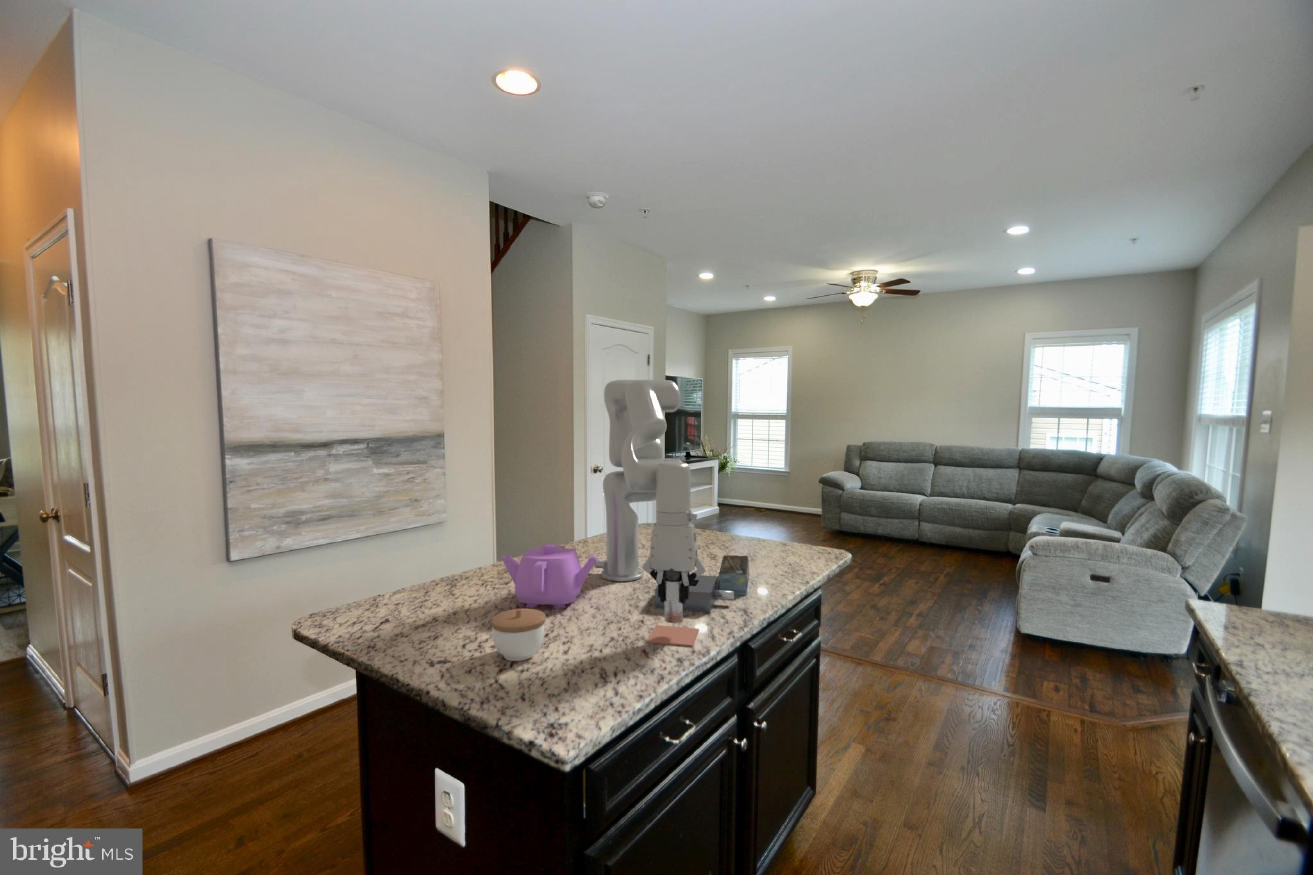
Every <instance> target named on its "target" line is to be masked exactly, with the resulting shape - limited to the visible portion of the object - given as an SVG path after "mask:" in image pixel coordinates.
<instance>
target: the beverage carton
mask: <svg viewBox="0 0 1313 875" xmlns="http://www.w3.org/2000/svg"><path fill="white" fill-rule="evenodd" d="M749 564H750V563H749V556H748V555H735V554H733V555H728V554H727V555H726V554H725V555H723V557H722V560H721V563H720V569H719V572H718V590H724V591H734V596H747V594H748V586H749V576H750V575H749V574H750V565H749Z"/></svg>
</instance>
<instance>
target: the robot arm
mask: <svg viewBox="0 0 1313 875" xmlns="http://www.w3.org/2000/svg"><path fill="white" fill-rule="evenodd" d="M603 398H604V399H603V400H604V405H605V408H606V411H607V414H608V419H609V440H608V442H609V444H608V457H609V458H608V459H609V462H610V464H611V465H612V466H614V467H616V468H622V469H623V470H617V471H616V470H615V471H611V472H609V473H607V474H606V475H605V476H604V478H603V481H602V489H603V495H604V502H605V504H604V505H605V516H606V517H605V519H606V526H605V527H606V559H604V560H601V559H600V560H599V559H597V560H596V562H595V564H594V565H593V567H594V568H595V569H602V571H601V577H602V578H603V579H605V580H608V581H612V582H631V581H636V580H638V579H641V578H642V577H643V576H644V571H645V572H646V573H647V574H649V575H650V577H652V579H653V580H654V581H655V583H656V584H657V586H658V597H660V602H664V601H665V596H664V571H667V570H670V569H671V568H672V569H673V570H674V571H678V572H681V573H682V579H683V585H682V586H681V603H682V604H685V602H686V600H687V599H689V584H690V583H691V582H692V581H693V580H694V579H695V578H696V577H698V576H700V575H704V573H705V572H706V568H705V566H704V565H703V563H702V562H701V560H700V558H699V557H698V556H699V555H698V542H697V532H696V527H695V524H694V523H692V522H693V521H698V514H696V513H693V512H692V509H691V467H690V465H689V464H688V463H687V462H683V461H682V460H680V459H679V458H671V457H669V458H664V451H663V450H664V448H663V444H662V441H661V440H660V438H662V437H663V436H664V434H665V433H666V431H667V427H668V425H667V421H666V418H665V415H664V413H674V412H676V411H677V410H678V409H679V408H680V405H681V392H680V389H679V386H678V385H677V384H676V382H674V381H673V380H670V379H669V380H668V379H615V380H612V381H609V382H607V383H606V385H605V387H604V389H603ZM654 501H655V502H656V503H655V512H656V514H655V519H656V520H655V522H654V523H653V526H652V530H651V538H650V548H649V549H650V550H649V556H648V558H647V560H646V561H645V562H644V564H643V565H642V568H640V567H639V517H638V514H637V512H635V510H634V509H633V508H632V507H631V505H630V504H632V503H644V502H654ZM695 568H696V570H695Z"/></svg>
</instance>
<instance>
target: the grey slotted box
mask: <svg viewBox="0 0 1313 875" xmlns="http://www.w3.org/2000/svg"><path fill="white" fill-rule="evenodd" d="M717 599H725V600H726V599H728V600H734V599H735V595H734V591H724V590H719V575H718V576H717V575H715V576H714V575H704V574H702V575H700V576H698V577H696V578H695V579H694V580H693V581H692V582H691V583H690V584H689V599H687V600H686V602H685V604H683V612H694V613H708V614H709V613H710V614H711V612H712V610H713V607H714V605H715V602H716V600H717ZM654 609H657V610H658V609H659V610H665V601H664V602H660V597H658V585H657V586H656V587H655V588H654Z"/></svg>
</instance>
